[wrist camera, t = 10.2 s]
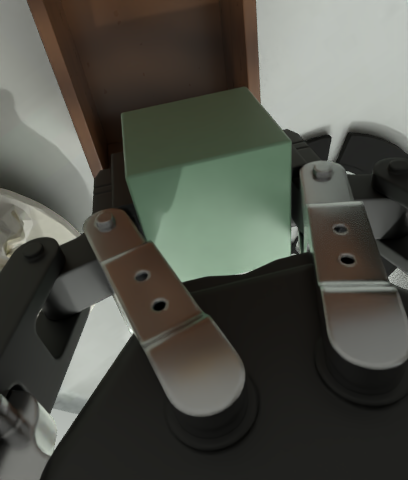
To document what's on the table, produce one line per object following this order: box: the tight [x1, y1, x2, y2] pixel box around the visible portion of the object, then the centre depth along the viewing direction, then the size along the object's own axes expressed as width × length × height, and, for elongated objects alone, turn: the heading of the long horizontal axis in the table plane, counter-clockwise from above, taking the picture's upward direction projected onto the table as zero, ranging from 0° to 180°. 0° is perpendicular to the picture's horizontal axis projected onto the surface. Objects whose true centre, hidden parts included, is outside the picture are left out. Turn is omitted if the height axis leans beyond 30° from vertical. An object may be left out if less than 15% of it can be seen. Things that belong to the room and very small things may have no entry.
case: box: [27, 0, 261, 178], centre depth 26 cm, size 15×12×7 cm
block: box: [121, 87, 292, 282], centre depth 13 cm, size 4×4×4 cm
